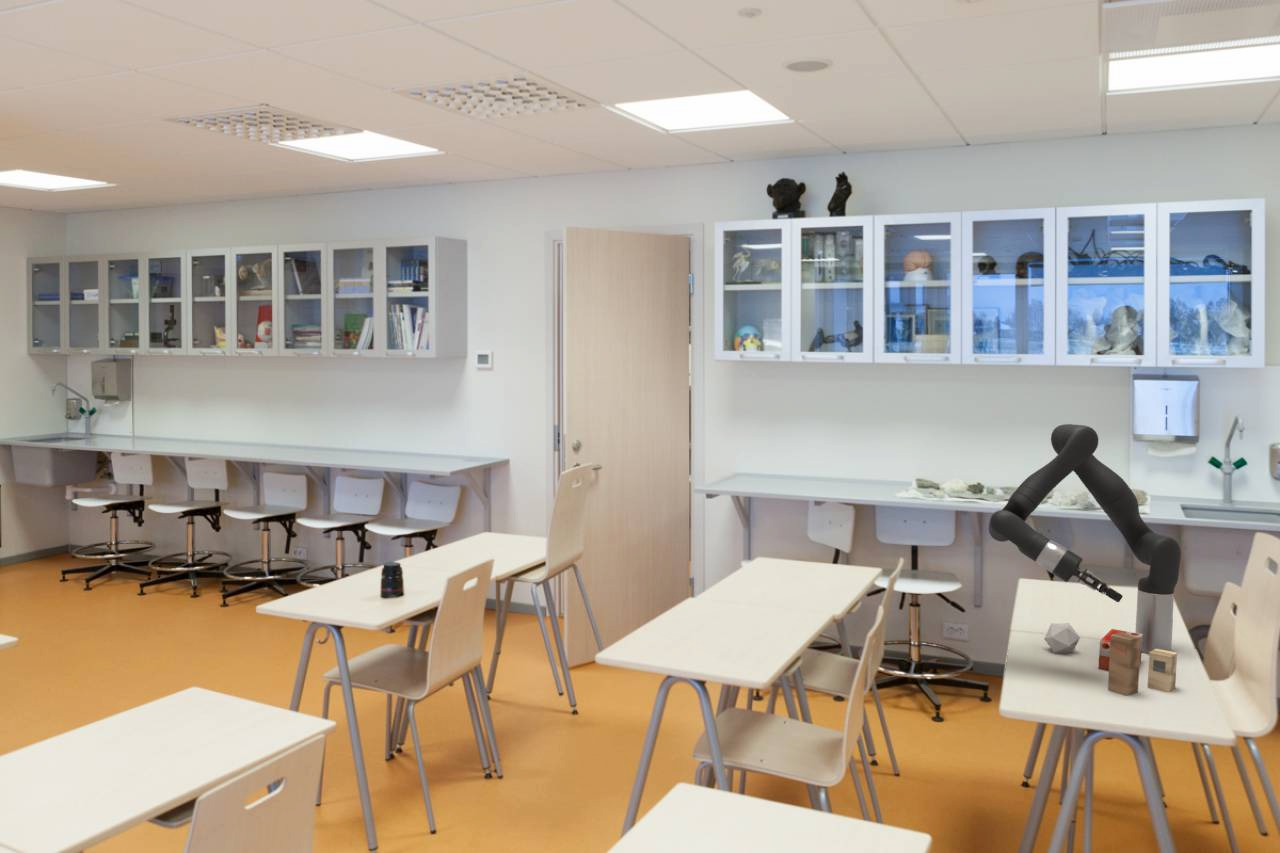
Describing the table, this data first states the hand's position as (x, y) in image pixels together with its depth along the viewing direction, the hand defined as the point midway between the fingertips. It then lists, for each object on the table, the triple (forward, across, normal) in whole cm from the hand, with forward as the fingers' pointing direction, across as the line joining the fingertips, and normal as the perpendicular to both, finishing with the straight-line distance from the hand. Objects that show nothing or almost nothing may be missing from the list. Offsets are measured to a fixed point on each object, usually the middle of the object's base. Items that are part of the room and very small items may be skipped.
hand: (1120, 599), depth 262 cm
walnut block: (+12, -3, +19) cm, 23 cm away
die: (-4, +26, +22) cm, 34 cm away
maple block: (+19, +4, +14) cm, 24 cm away
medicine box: (+9, +20, +16) cm, 27 cm away
